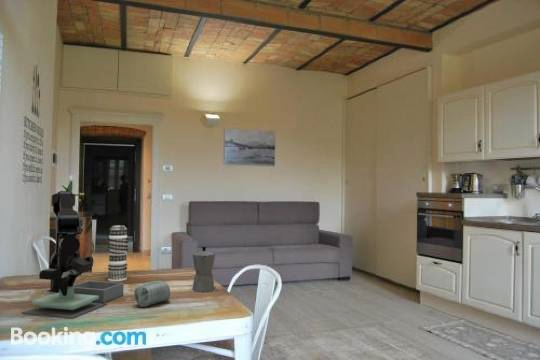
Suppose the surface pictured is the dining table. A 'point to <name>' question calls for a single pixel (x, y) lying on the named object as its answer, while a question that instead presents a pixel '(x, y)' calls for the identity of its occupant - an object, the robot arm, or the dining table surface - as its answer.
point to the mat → (64, 311)
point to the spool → (152, 293)
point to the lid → (65, 300)
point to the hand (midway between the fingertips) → (66, 295)
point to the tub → (100, 290)
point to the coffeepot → (203, 271)
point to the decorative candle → (117, 253)
